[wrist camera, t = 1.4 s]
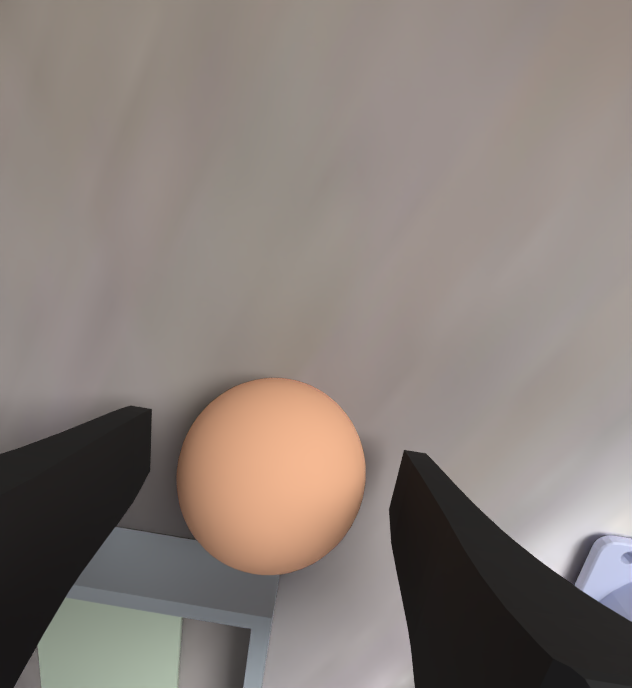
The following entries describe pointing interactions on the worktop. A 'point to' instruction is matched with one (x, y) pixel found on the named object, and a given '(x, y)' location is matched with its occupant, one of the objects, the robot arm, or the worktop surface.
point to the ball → (271, 476)
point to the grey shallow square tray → (150, 613)
